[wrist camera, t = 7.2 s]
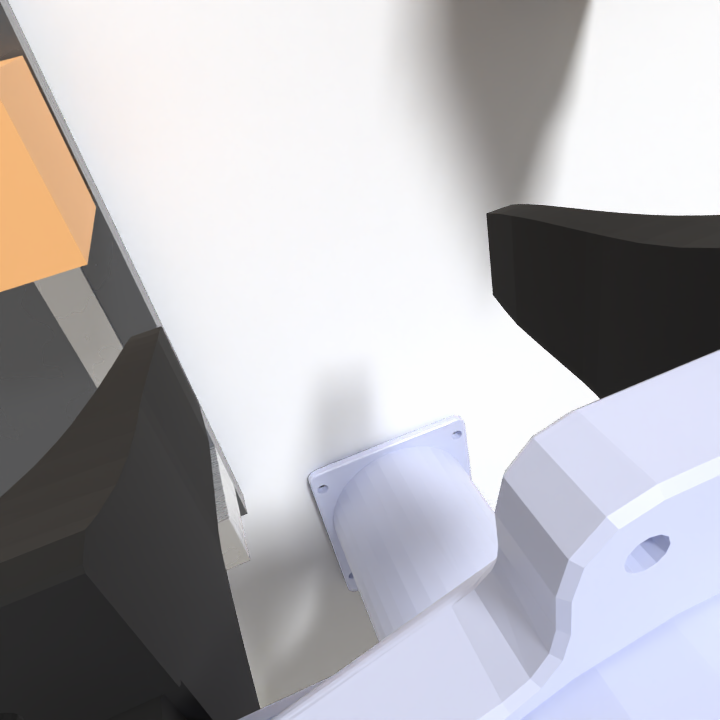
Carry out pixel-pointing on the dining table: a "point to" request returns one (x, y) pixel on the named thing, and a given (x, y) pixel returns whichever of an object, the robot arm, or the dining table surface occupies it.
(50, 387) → the bolt plate
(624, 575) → the robot arm
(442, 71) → the dining table surface
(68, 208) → the orange block with rod
